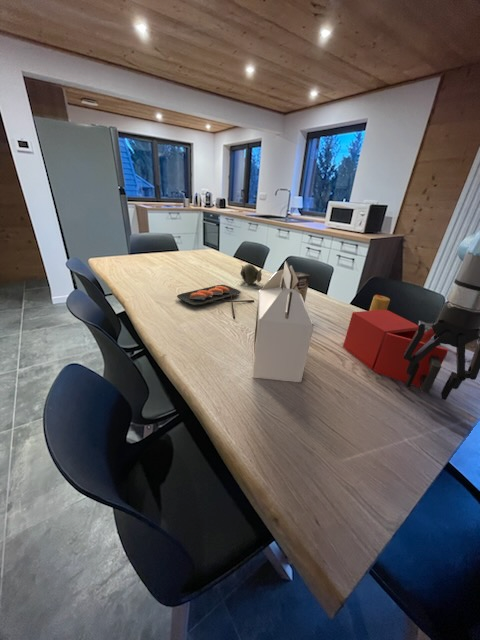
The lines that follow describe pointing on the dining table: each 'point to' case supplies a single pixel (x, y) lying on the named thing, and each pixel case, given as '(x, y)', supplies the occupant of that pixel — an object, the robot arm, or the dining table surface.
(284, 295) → the gable box
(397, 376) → the red drawer
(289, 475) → the dining table surface
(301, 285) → the coffee box
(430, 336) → the onion
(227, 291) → the sushi plate
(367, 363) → the valve cabinet
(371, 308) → the yellow orange cylinder
